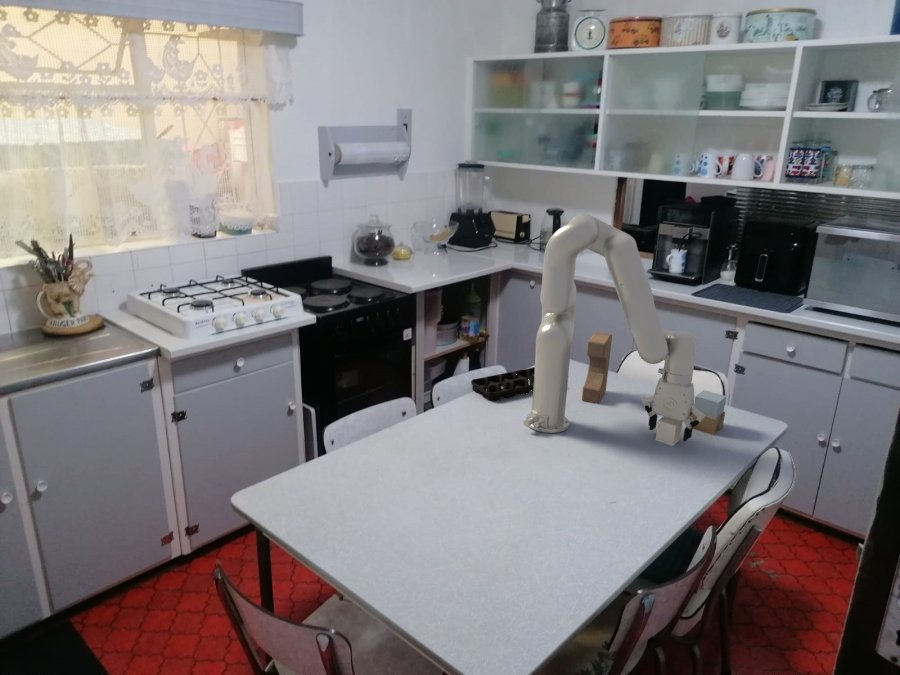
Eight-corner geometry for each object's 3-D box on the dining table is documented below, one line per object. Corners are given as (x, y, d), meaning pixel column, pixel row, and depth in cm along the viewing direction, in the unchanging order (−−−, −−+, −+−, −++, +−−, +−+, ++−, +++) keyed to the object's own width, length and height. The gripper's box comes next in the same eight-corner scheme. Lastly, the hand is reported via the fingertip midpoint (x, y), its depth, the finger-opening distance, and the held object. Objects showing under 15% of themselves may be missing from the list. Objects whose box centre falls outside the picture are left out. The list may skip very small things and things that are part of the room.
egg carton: (565, 386, 218) (566, 376, 216) (504, 409, 198) (504, 398, 197) (525, 371, 230) (526, 361, 229) (464, 392, 210) (464, 381, 209)
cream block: (672, 446, 178) (675, 426, 176) (655, 440, 181) (658, 420, 179) (679, 439, 182) (683, 420, 180) (662, 434, 185) (665, 415, 183)
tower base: (713, 435, 185) (716, 419, 183) (687, 427, 190) (690, 412, 188) (722, 427, 191) (725, 411, 189) (697, 419, 195) (699, 404, 194)
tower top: (715, 418, 184) (718, 402, 183) (692, 412, 188) (695, 396, 187) (723, 412, 189) (726, 396, 187) (701, 405, 193) (703, 390, 191)
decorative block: (598, 404, 203) (605, 343, 197) (580, 400, 205) (586, 340, 199) (606, 392, 213) (613, 334, 207) (589, 389, 215) (595, 331, 209)
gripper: (641, 372, 178) (634, 429, 183) (704, 389, 168) (694, 449, 173) (652, 365, 184) (645, 420, 189) (714, 381, 173) (705, 439, 178)
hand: (669, 434), depth 181 cm, fingers open, 9 cm apart
